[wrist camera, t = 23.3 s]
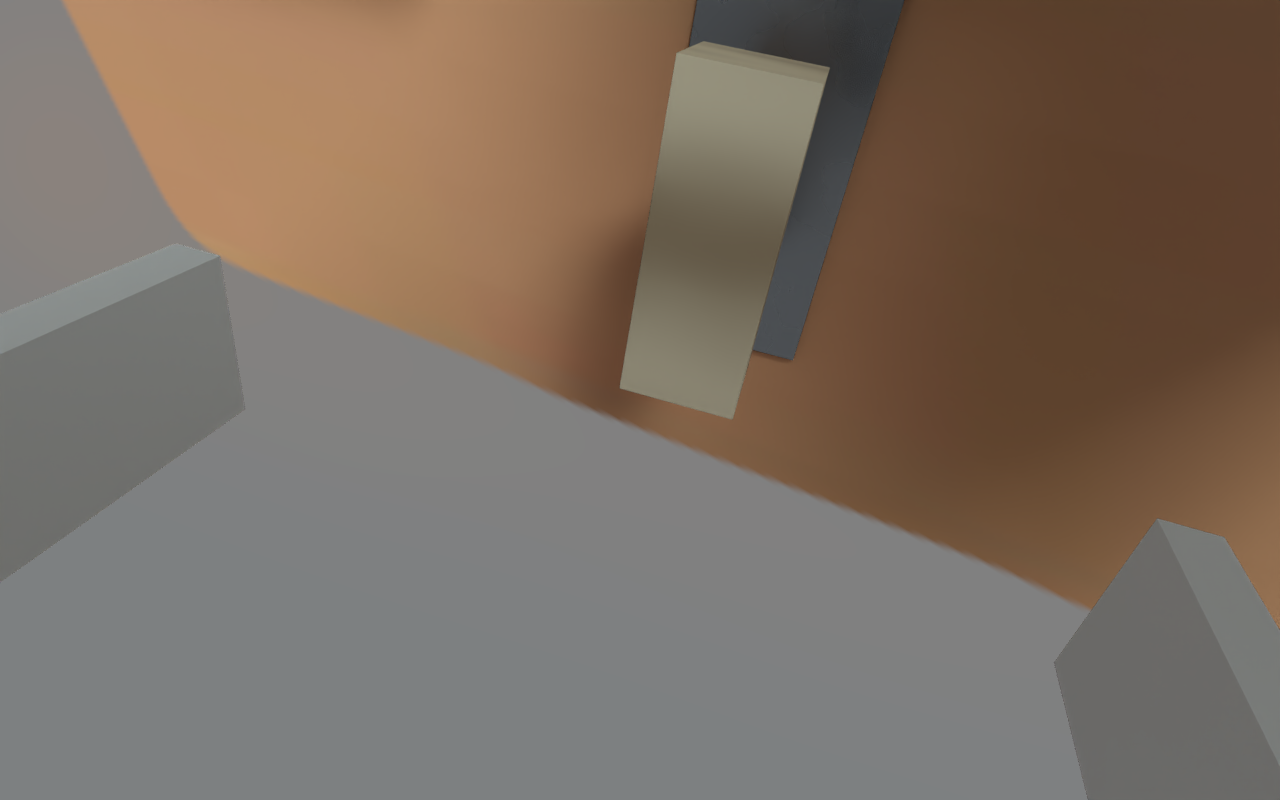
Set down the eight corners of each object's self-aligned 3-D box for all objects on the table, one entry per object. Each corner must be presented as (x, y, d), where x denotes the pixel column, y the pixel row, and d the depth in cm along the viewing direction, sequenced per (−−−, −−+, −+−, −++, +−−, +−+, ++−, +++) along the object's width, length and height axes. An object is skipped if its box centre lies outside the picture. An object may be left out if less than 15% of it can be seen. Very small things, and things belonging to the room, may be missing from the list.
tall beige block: (793, 355, 28) (764, 515, 20) (643, 316, 29) (554, 453, 21) (940, -119, 20) (994, -183, 12) (727, -156, 21) (640, -239, 13)
